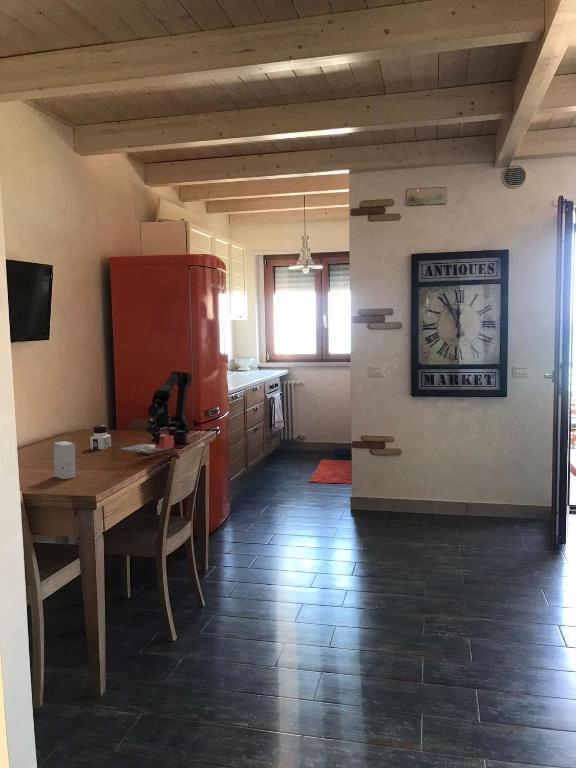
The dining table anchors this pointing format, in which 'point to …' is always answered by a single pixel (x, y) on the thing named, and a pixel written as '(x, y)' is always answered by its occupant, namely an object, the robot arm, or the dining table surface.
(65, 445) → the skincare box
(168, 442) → the cap
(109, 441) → the container
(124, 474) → the dining table surface
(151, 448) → the panel
